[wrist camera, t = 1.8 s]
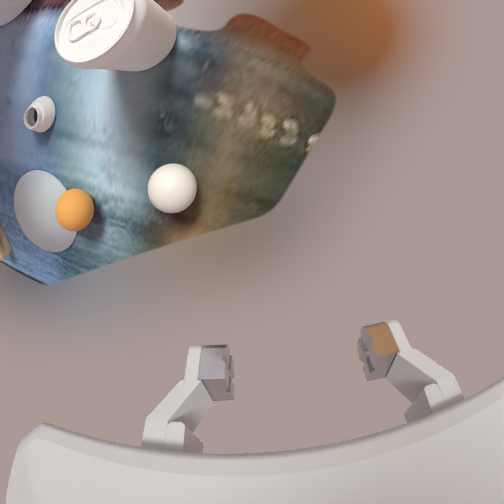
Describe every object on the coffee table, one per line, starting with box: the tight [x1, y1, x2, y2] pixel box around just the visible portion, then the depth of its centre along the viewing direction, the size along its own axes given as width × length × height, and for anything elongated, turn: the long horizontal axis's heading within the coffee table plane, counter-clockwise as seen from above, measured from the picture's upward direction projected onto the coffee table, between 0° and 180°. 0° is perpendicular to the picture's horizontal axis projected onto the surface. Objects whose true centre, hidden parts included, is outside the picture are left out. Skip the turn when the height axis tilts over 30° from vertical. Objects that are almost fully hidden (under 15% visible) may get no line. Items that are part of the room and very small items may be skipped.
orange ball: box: [55, 188, 94, 231], centre depth 29 cm, size 6×6×6 cm
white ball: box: [148, 164, 197, 213], centre depth 29 cm, size 6×6×6 cm
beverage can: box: [55, 0, 177, 71], centre depth 16 cm, size 8×8×12 cm
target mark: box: [14, 170, 77, 253], centre depth 32 cm, size 14×14×1 cm
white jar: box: [24, 96, 55, 132], centre depth 23 cm, size 5×3×5 cm
